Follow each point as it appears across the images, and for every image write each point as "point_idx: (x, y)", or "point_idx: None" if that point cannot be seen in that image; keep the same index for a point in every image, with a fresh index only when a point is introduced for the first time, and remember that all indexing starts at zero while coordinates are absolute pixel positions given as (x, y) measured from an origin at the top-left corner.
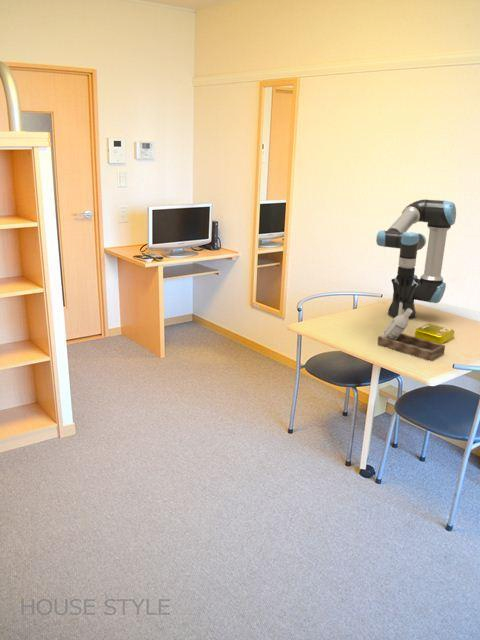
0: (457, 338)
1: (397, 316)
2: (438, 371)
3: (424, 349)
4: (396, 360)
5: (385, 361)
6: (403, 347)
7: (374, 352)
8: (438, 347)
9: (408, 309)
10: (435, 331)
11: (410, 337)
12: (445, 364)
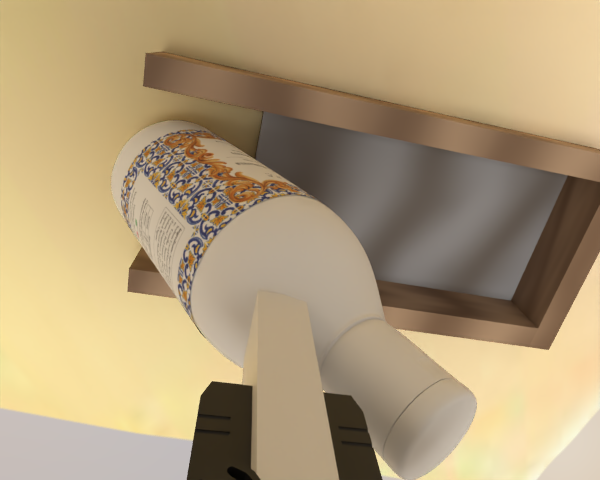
0: None
1: (242, 363)
2: (557, 409)
3: (497, 324)
4: None
5: None
6: None
7: (191, 382)
8: (592, 233)
9: (420, 460)
10: None
11: (356, 129)
12: (595, 313)
